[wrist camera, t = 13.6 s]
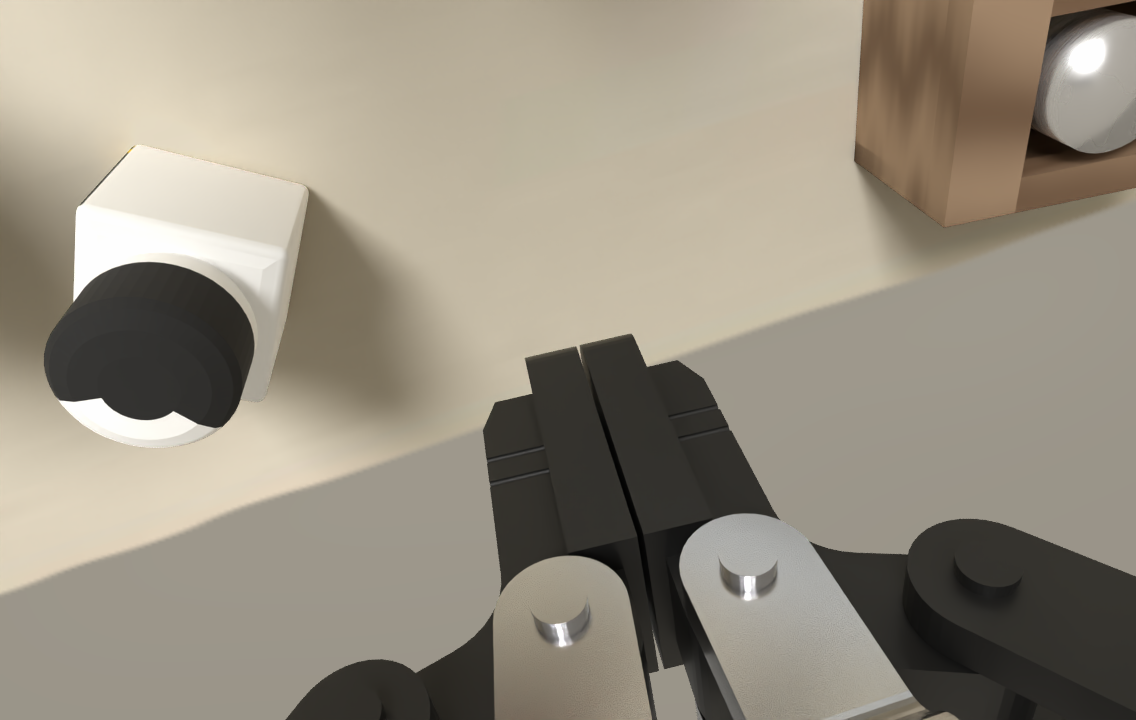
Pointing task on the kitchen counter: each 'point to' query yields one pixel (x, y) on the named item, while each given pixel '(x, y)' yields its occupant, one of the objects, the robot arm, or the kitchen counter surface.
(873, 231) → the kitchen counter surface
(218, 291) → the medicine bottle
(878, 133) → the wooden spice jar rack
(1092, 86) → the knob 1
